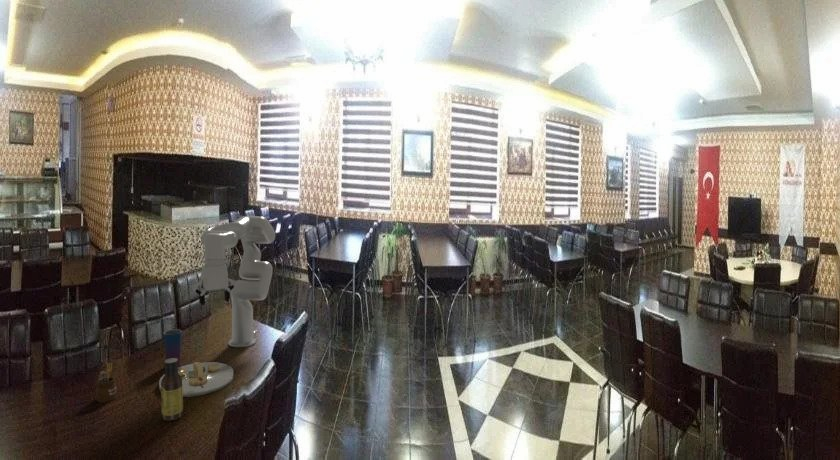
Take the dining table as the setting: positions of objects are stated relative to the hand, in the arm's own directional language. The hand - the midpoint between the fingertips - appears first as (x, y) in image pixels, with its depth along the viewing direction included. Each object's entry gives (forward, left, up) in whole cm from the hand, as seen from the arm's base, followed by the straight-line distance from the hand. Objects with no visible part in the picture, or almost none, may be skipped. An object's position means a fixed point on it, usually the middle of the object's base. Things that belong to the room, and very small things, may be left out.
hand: (214, 302), depth 180 cm
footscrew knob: (+18, +8, -26) cm, 33 cm away
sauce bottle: (+37, +15, -28) cm, 49 cm away
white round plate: (+13, +3, -28) cm, 31 cm away
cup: (+5, -17, -28) cm, 34 cm away
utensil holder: (+35, -16, -28) cm, 48 cm away
